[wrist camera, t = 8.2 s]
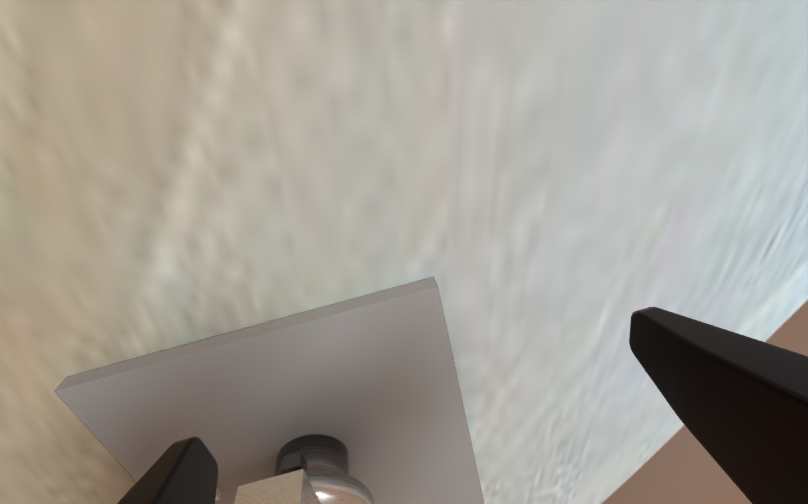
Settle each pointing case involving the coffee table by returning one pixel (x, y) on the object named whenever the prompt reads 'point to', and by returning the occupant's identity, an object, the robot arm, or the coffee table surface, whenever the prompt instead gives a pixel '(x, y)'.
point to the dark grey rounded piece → (313, 455)
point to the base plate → (301, 398)
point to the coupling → (305, 489)
